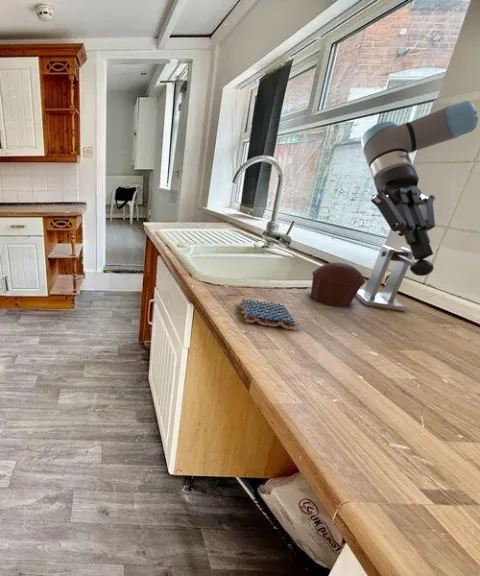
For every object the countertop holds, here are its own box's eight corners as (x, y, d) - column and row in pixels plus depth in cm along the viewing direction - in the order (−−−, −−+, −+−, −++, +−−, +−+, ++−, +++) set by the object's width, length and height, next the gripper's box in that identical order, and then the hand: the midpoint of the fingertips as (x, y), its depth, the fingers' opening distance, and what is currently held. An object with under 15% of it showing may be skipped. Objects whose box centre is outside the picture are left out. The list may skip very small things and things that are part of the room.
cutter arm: (433, 279, 67) (440, 263, 65) (412, 276, 68) (419, 260, 66) (398, 261, 80) (404, 248, 79) (381, 259, 81) (386, 246, 80)
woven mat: (244, 323, 68) (246, 315, 67) (238, 304, 77) (239, 297, 77) (296, 331, 65) (299, 323, 65) (283, 311, 75) (286, 303, 74)
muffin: (302, 289, 90) (313, 256, 86) (348, 296, 86) (361, 262, 82) (309, 303, 80) (321, 267, 76) (362, 312, 76) (377, 274, 72)
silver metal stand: (404, 311, 78) (429, 255, 72) (365, 305, 80) (387, 250, 75) (385, 297, 86) (407, 246, 81) (351, 292, 89) (370, 242, 84)
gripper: (378, 162, 74) (407, 246, 65) (435, 164, 73) (474, 250, 64) (355, 184, 81) (378, 262, 72) (407, 186, 80) (438, 266, 71)
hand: (423, 256), depth 68 cm, fingers closed
